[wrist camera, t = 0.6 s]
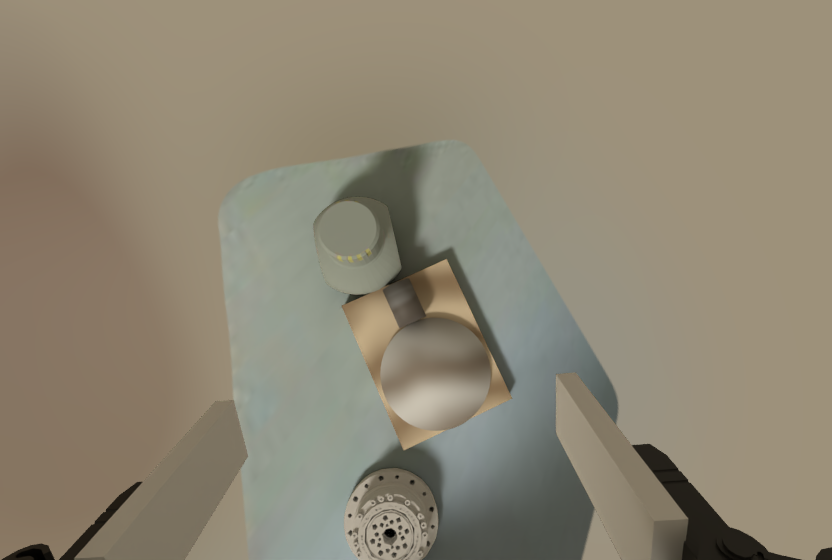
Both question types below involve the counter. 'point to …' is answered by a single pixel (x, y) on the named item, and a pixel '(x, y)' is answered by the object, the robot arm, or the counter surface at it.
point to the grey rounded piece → (356, 245)
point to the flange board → (426, 354)
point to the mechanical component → (391, 517)
